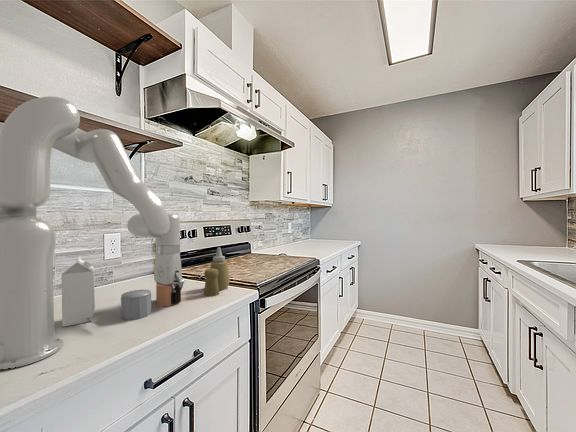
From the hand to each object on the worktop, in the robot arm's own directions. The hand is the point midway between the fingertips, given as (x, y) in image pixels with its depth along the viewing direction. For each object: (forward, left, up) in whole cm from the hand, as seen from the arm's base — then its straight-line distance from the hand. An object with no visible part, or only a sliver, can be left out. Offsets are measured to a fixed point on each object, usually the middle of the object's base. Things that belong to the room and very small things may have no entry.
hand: (169, 300), depth 91 cm
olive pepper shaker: (+14, -5, -2) cm, 15 cm away
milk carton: (-22, +11, -2) cm, 25 cm away
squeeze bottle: (+21, -1, -2) cm, 21 cm away
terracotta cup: (0, 0, -2) cm, 2 cm away
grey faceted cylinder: (-12, -3, -2) cm, 13 cm away
